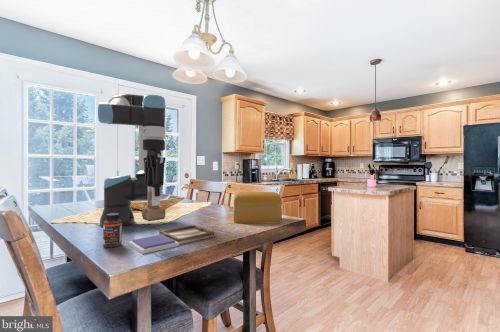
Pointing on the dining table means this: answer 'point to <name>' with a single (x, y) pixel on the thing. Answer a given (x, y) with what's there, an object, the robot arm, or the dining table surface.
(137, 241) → the ink pad
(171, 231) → the print board
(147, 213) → the stamp
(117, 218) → the supplement bottle
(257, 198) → the bread
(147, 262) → the dining table surface
